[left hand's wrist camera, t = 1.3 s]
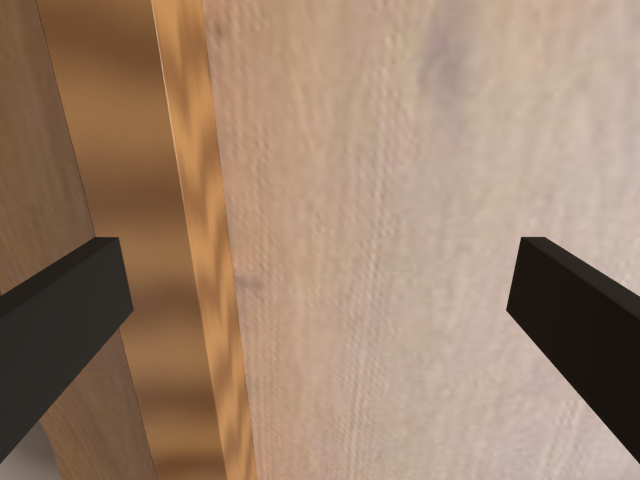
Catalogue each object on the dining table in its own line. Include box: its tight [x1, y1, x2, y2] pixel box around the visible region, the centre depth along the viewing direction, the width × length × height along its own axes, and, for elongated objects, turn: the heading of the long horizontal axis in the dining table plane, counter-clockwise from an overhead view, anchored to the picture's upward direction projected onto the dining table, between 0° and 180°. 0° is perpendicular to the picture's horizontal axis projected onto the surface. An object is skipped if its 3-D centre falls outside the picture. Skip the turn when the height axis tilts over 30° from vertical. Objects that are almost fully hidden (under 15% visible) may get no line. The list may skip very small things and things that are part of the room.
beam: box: [36, 0, 257, 480], centre depth 30 cm, size 56×5×8 cm, turn 1°
